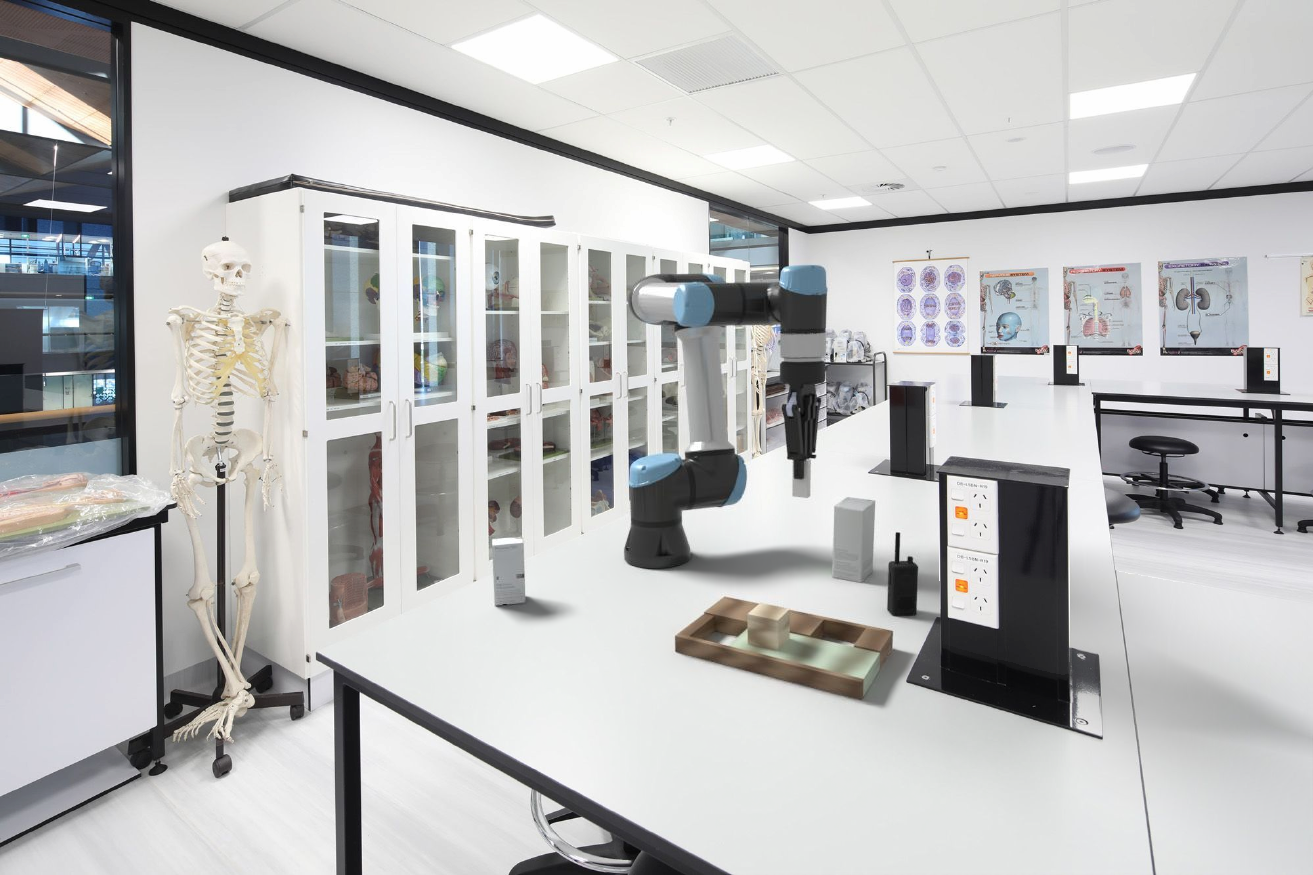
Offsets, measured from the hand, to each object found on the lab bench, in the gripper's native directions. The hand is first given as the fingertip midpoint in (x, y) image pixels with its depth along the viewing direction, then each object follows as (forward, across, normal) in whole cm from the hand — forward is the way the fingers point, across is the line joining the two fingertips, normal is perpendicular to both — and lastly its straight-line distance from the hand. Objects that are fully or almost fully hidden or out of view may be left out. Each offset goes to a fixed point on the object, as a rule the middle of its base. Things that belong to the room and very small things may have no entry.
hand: (801, 496), depth 120 cm
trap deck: (+22, +13, +2) cm, 26 cm away
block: (+20, +16, +1) cm, 26 cm away
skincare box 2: (+23, -26, +2) cm, 35 cm away
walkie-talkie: (+23, -11, +15) cm, 29 cm away
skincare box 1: (+23, +19, -52) cm, 60 cm away
